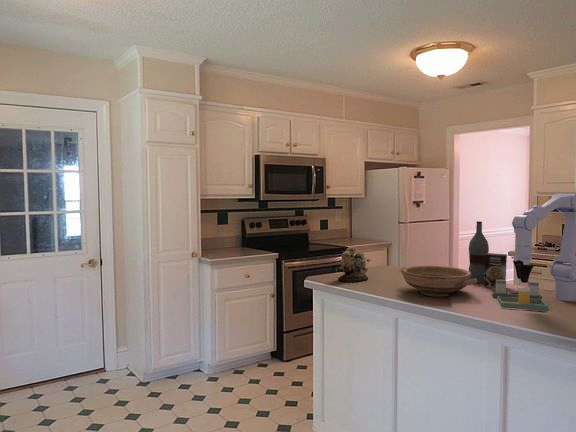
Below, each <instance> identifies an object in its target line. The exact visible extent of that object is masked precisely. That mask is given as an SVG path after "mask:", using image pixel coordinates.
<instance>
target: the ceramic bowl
mask: <svg viewBox="0 0 576 432" xmlns="http://www.w3.org/2000/svg"><path fill="white" fill-rule="evenodd" d="M399 271H400V274H401V275H402V276H403V278H404V281H405V282H406V284H407V285H409V286H410V287H412V288H413V289H414V288H415V289H416V290H418V291H419V292H420V294H422V295H424V296H429V297H430V296H431V297H449V296H451V293H454V292H457V291H460V290H464V289H465V288H466V287H467V286H471V285H472V286H473V285H474V284H476V283H477V279H471V280H470V275H471V273H470V272H469V270H466V269H464V268H458V267H453V266H445V265H444V266H443V265H414V266H408V267H407V266H406V267H403V266H402V267H401V268H400V269H399Z"/></svg>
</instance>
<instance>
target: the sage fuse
mask: <svg viewBox="0 0 576 432" xmlns="http://www.w3.org/2000/svg"><path fill="white" fill-rule="evenodd" d="M495 291H496V293H499V294H506V292H507V279H506V280H496V288H495Z"/></svg>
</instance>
